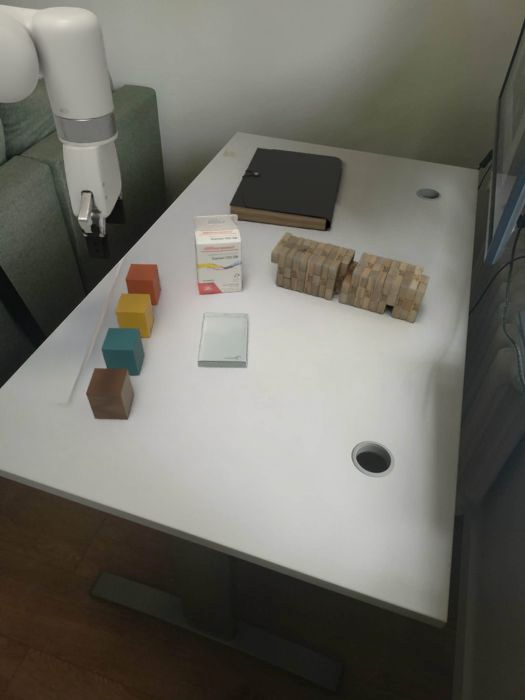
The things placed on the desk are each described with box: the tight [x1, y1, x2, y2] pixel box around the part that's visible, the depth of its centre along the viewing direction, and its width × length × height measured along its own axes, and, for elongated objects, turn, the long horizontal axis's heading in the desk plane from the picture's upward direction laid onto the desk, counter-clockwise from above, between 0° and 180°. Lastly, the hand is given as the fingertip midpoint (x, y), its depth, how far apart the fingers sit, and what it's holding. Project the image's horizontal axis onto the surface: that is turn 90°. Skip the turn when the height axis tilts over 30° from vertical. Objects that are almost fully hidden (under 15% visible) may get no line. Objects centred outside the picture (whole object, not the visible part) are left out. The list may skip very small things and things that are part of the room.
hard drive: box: [197, 312, 249, 369], centre depth 87 cm, size 2×8×12 cm
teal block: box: [100, 327, 145, 376], centre depth 81 cm, size 5×5×6 cm
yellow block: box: [114, 293, 155, 339], centre depth 87 cm, size 5×5×6 cm
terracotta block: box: [125, 263, 162, 306], centre depth 94 cm, size 5×5×6 cm
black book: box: [229, 147, 343, 232], centre depth 126 cm, size 33×4×24 cm
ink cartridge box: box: [193, 214, 243, 295], centre depth 94 cm, size 9×5×15 cm, turn 100°
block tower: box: [270, 232, 430, 324], centre depth 96 cm, size 8×8×29 cm
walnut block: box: [85, 367, 135, 420], centre depth 75 cm, size 5×5×6 cm
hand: (109, 239), depth 76 cm, fingers open, 9 cm apart
